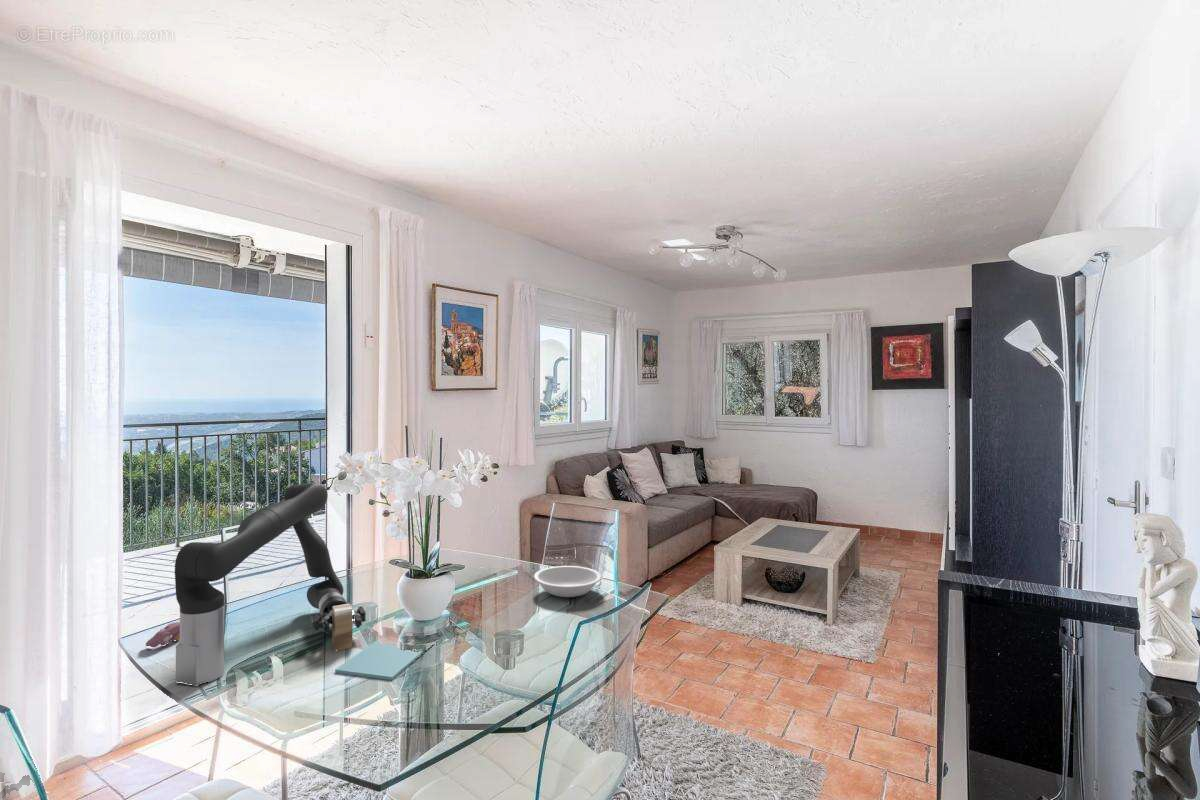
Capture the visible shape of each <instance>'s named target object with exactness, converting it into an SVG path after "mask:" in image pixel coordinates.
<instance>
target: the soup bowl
mask: <svg viewBox="0 0 1200 800" xmlns="http://www.w3.org/2000/svg"><path fill="white" fill-rule="evenodd" d="M602 577H603V576H602V574H601V572H599V571H598V570H595V569H593V568H589V567H585V566H581V565H557V566H550V567H546V568H545V567H544V568H542V569H540V570H538V571H536V572H535V573H534V575H533V579H534V581H535V582H537V583H538V584H539V585H540V587H541V588H542V589H543V590H544V591H545V592H547V594H549V595H553V596H555V597H560V598H574V597H575V598H576V597H580V596H583V595H585V594H587V593H589V592H591V590H592V589H593V588H594V587H595V586H596V584H597V583H599V582H600V581H601V580H602Z"/></svg>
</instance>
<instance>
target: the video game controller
mask: <svg viewBox="0 0 1200 800" xmlns="http://www.w3.org/2000/svg"><path fill="white" fill-rule="evenodd" d="M174 640H177V641H179V640H180V621H179V622H177V621H175V622H171V623H169V624H167V625H166V626H165V627H163V628H160V630H159V631H157V632H156V633H155V634H154V636H152V637H151V638H150V639H148V640H147V641H146V643H145V645H146V646H151V647H155V648H157V647H158V646H159V645H160V646H162V645H165V644H167V643H169V644H171V642H173V641H174ZM146 646H145V647H146Z"/></svg>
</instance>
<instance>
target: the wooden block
mask: <svg viewBox="0 0 1200 800" xmlns="http://www.w3.org/2000/svg"><path fill="white" fill-rule="evenodd" d="M353 609H354V608H353V606H352V605H351V604H350V603H348V604H343V605H337V606H332V626H331V629H332V630H331V635H332V636H331V646H332V648H333V650H335V651H334V652H337V651H336V650H339V651H343V650H342V649H344V650H347V649H346V648H349V649H352V648H353V624H354V623H353V611H354V610H353ZM351 647H352V648H351Z"/></svg>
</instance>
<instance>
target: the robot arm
mask: <svg viewBox="0 0 1200 800" xmlns="http://www.w3.org/2000/svg"><path fill="white" fill-rule="evenodd" d="M328 497H329V496H328V491H327V489H326V486H324V485H323V484H321V483H318V482H309V483H308V482H307V483H299V484H298V483H297V484H293V485H289V486H288V487H287V488H286V489H285V492H284V495H283V500H282V501H278V502H275V503H271V504H269V505H266V506H264V507H261V508H260V509H257V510H256V511H254V512H252V513H250V514H249V515H248V516H246V517H245V518H244V519H243V520H242V521H241V522H240V524H239V526H238V529H237V534H235V535H234V536H233V537H232V536H231V538H229V539H227V540H225V541H222V542H201V541H195V542H194V541H192V542H188V543H187V544H184V545H183V546H182V547H181V548H180V550H179V551H178V553H177V556H176V558H175V562H174V581H175V582H174V584H175V598H176V601H177V603H178V605H179V622H180V638H179V643H177V644H176V645H175V682H176V681H177V682H183V683H187V684H192V685H198V684H200V683H204V684H206V682H208V683H210V682H213V681H215V680H217V679H219V678H221V677H222V676H223V675H224V673H225V594H224V593H223V592H222V591H221V590H219V589H217V588H216V587H214V586H213V585H212V584H211V583H212V582H216V581H220V580H222V579H224V578H225V577H226V576H227V575H229V574H230V573H231V572H232V571H234V570H235V569H236V568H237V567H238V566H240V564H241V563H242V562H244V561H245V560H246V559H247V558H249V556H251V555H253V554H254V553H255V552H257V551H258V550H259V549H260V548H263V547H264V546H266V545H267V544H269V543H270V542H272V541H273V540H274V539H277V537H279V536H280V535H282V534H283V533H284V532H286V531H287V530H289V529H290V528H291V527H293V529H294V531H295V534H296V536H297V538H298V540H299V543H300V546H301V548H302V552H303V556H304V560H305V565H306V569H307V572H308V575H309V577H310V578H327V579H326V580H322V581H319V582H317V583H314V584H312V585H310V586H309V587H308V589H307V591H306V599H307V602H308V603H309V604H310V605H311V606H312V607H313V608H314V609H318V612H319V614H320V616H319V615H317V614H312V615H311V626H312V628H313V631H318V630H319V629H321V630H322V631H323V632H324V633H326V634H330V630H331V629H330V628H332V606H337V605H343V604H349V603H348V601H347V600H346V598H345V597H344V596H343V594H344V586H343V583H342V582H341V581H340V579H339V577H338V575H337V573H336V572H335V570H334V567H333V565H332V561H331V556H330V551H329V548H328V546H327V544H326V542H325V540H324V539H323V538H322V537H321V535H319V533H318V532H317V531H316V530H315V529H314V528H313V526H312V524H311V523H310V520H309V518H308V517H309V516H312V515H313V514H316V513H317V512H319V511H321V510H322V509H323V508H324V507H325V505H326V503H327V501H328ZM210 582H211V583H210ZM366 614H367V613H366V610H365V609H364V607H363V606H358V608H357V609H355V610H353V624H354V626H355V627H356V628H357V629H359V628H360V627H361V626H362V624H363V623H364V622H366Z"/></svg>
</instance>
